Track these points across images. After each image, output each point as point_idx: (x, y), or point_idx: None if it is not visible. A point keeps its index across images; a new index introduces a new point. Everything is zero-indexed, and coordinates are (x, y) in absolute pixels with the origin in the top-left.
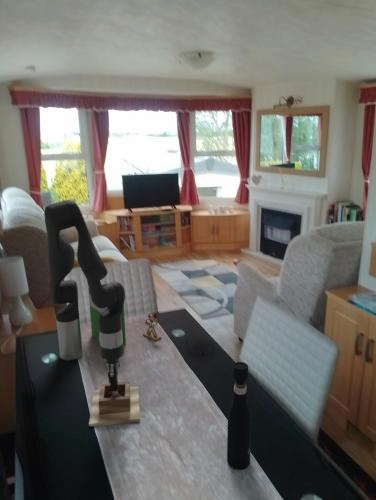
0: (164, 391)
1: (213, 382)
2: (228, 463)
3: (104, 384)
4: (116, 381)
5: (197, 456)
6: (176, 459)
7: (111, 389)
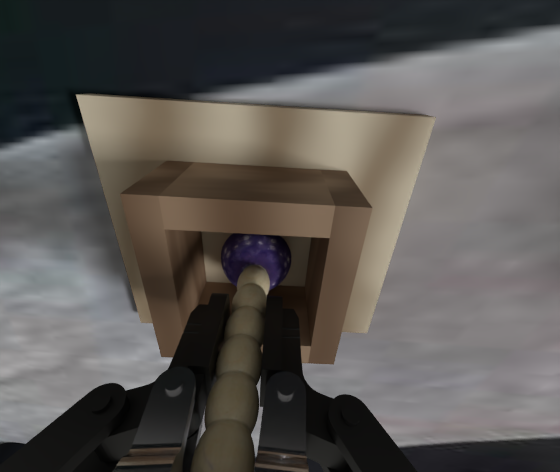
0: (314, 385)
1: (317, 467)
2: (2, 447)
3: (351, 235)
4: (87, 456)
5: (14, 409)
6: None
7: (209, 303)
